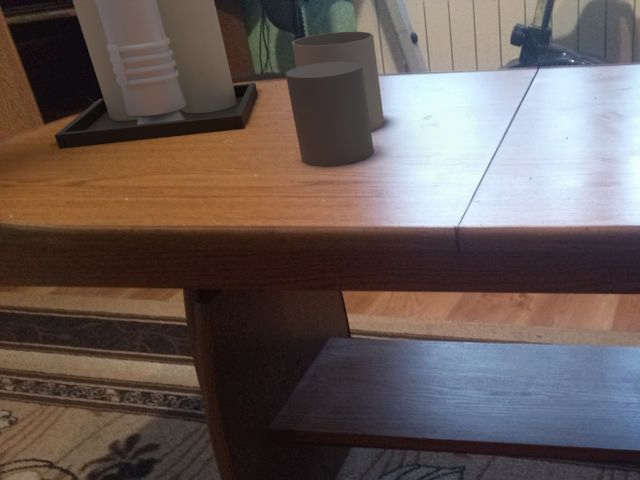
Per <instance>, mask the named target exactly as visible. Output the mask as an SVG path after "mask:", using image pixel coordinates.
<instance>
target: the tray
mask: <svg viewBox="0 0 640 480" xmlns="http://www.w3.org/2000/svg"><path fill="white" fill-rule="evenodd" d="M233 87H234V92H235V96H236V101H237V104H236V105H235V106H233V107H230V108H228V109H224V110H220V111H215V112H208V113H185V112H183V111H182V109H181V110H179V112H180V113H181V114H182V116H183V117H184V118H185V120H178V121H168V122H159V123H149V124H140V125H137V120H132V121H115V120H111V119H110V117H109V114H108V110H107V107H106V104H105V101H104V98H102V97H101V98H98V99H97V100H96V101H94V102H93V103H92V104H91V105H90V106H88V107H86V109H85V110H83V111H82V112H81V113H80V114H79V115H77V116H76V117H75V118H74V119H72V120H71V121H70V122H69V123H68V124H66V125H65V126H63V127H62V128H61V129H60V130H59V131H58V132H56V133H55V134H54V139H55V140H56V144H57V146H58V148H59V149H70V148H71V149H72V148H79V147H88V146H97V145H98V146H99V145H106V144H107V145H108V144H117V143H127V142H135V141H144V140H152V139H163V138H170V137H180V136H190V135H200V134H209V133H218V132H226V131H237V130H244V129H245V128H246V127H247V123H248V121H249V118H250V115H251V113H252V111H253V108H254V105H255V103H256V100H257V97H258V95H259V94H258V90H257V84H256V82H250V83H241V84H239V83H238V84H233Z"/></svg>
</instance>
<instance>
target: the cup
mask: <svg viewBox="0 0 640 480" xmlns="http://www.w3.org/2000/svg"><path fill="white" fill-rule="evenodd" d="M291 46H292V50H293V56H294V62H295V66H296V67H295V68H297V67H301V66H305V65H310V64H317V63H326V62H355V63H359V64H361V65H362V68H363V75H364V83H365V90H366V98H367V105H368V112H369V120H370V127H371V132H373V131H375V130H377V129H380V128H381V127H383V125H384V124H385V118H384V117H385V116H384V111H383V103H382V102H383V101H382V95H381V86H380V78H379V70H378V69H379V68H378V64H377V63H378V62H377V55H376V46H375V39H374V34H373V33H371V32H366V31H338V32H327V33H320V34H314V35H308V36H303V37H301V38H297V39H295V40H293V41H291Z"/></svg>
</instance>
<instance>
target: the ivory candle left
mask: <svg viewBox="0 0 640 480" xmlns="http://www.w3.org/2000/svg"><path fill="white" fill-rule="evenodd" d="M72 3H73V7H74V10H75V13H76V17H77V19H78V22H79V25H80V29H81V32H82V34H83V38H84V41H85V44H86V47H87V50H88V53H89V57H90V59H91V63H92V66H93V69H94V72H95V73H94V74H95V76H96V79H97V81H98V82H97V83H98V86H99V88H100V92H101V95H102V97H103V98H104V101H105V104H106V107H107V110H108V114H109V117H110V119H111V120H115V121H132V120H138V117H133V116H130V115H128V114H127V111H126V106H125V102H124V97H123V93H122V88H121V86H119V84H117V81H116V79H117V76H116V73H114V71H113V68H114V66H113V63H112V62H111V61H110V53H109V52H108V51H107V45H108V41H107V37H106V34H105V31H104V28H103V24H102V21H101V18H100V14H99V11H98V8H97V4H96V1H95V0H72Z"/></svg>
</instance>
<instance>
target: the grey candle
mask: <svg viewBox="0 0 640 480" xmlns="http://www.w3.org/2000/svg"><path fill="white" fill-rule="evenodd" d="M285 78H286V83H287V88H288V94H289V95H288V96H289V100H290V105H291V110H292V115H293V120H294V127H295V132H296V137H297V142H298V148H299V153H300V158H301V162H302V163H303V164H305V165H307V166H311V167H316V168H317V167H318V168H333V167H334V168H335V167H343V166H348V165H353V164H356V163H359V162H363V161H365V160H367V159H369V158H371V157H372V156H373V155H374V153H375V150H374V143H373V136H372V135H373V134H372V131H371V127H370V120H369V112H368V105H367V98H366V90H365V83H364V75H363V68H362V65H361V64H359V63H355V62H326V63H317V64H310V65H305V66H301V67H294V68H292V69H289V70H288V71H286V72H285Z"/></svg>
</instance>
